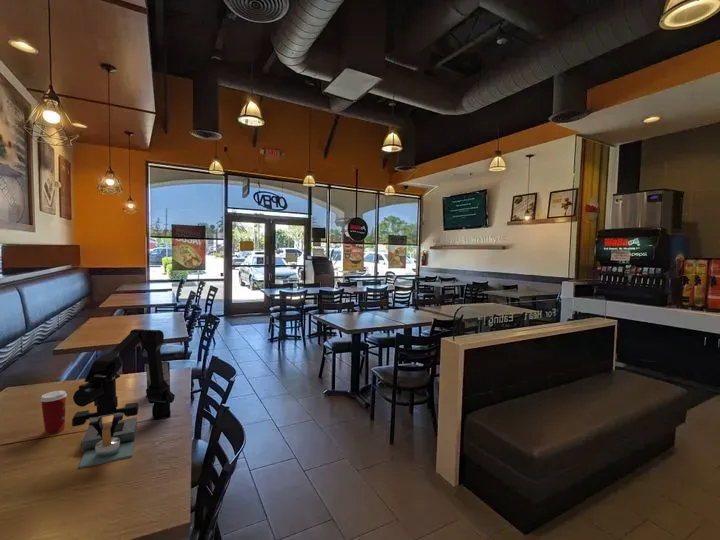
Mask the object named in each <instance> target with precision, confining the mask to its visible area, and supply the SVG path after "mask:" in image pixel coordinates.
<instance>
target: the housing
mask: <svg viewBox="0 0 720 540" xmlns="http://www.w3.org/2000/svg"><path fill="white" fill-rule="evenodd" d="M107 423H112V421H110V422H109V421H107V422H105V423H104V422H102V425H103V426H104V424H107ZM137 430H138V417H131V418H126V419H122V420H119V422H118V424H117V426H116V428H115V431H114V434H113V437H117V438H119V439H120V444H125V443H130V442H134V443H135V441H136V436H137ZM101 440H102V438H101V436H100V435H99V433H98V431H97V430H96V429H95V428H94V427H93V426H92V425H91V426H89V425H88V427H87V430H86V432H85V434H84V436H83V438H82V440H81V453H82V454H84V453H85V452H86V451H91V450H95V445H96V444H97V443H98V442H99V441H101Z"/></svg>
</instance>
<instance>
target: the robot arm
mask: <svg viewBox="0 0 720 540" xmlns="http://www.w3.org/2000/svg"><path fill="white" fill-rule="evenodd" d="M164 337H165V335H164V331H162V330H160V329H143V328H142V329H141V328H139V329H138V328H134V329H131V330H130V332H129V334H128V335H127V336H126V337H124V339H122V340H121V341H120V343H118V344H117V345H116V346H115V347H114V348H113V349H112V350H111V351H110V352H108V353H105V354H103V355H101V356H98V358H97V359H95V360H94V361H93V362H92V363H91V367H90V369H89V370H88V373H87V374H86V377H85V379H84V384H80V385H78V390H76V391H75V392H74V394H73V397H72V398H73V399H72V400H73V402H74V404H75V405H77V406H78V407H80V408H81V407H82V408H83V407H86V406H88V405H90V404H92V403H93V402H94V404H93V405H94V407H96V412H91V411H90V409H89V410H82V411H76V413H75V414H74V415H73V417H72V419H71V426H72V427H78V426H84V425H85V424H86V423H87V420H88V421H89V422H88V427H89V426H93V427H94V428H95V429H96V430H97V431H98V433H99V435H100V436H101V438H102V429H103V425H102V424H103V418H104V417H105V418H106V417H110V416H113V417H112V421H111V422H112V430H111V437H113V434H114V431H115V428H116V426H117V424H118V422H119V421H120V420H124V416H125V417H127V418H129V417H134V416H137V415H138V413H139V403H138V402H130V403H125V405H124V407H119V408H118V406H119V404H118V396H117V385H116V381H117V379H119V378H120V377H121V375H120V374H118V372H119V370H120V369H121V367H122V366H123V361H124V360H125V359H126V357H127V356H128V355H129V354H130V353H131V352H132V351H133V350H134V349H135V348H136V347H137V346H138V345H139V344H141V346H142V349H144V350H145V351H146V355H147V356H146V357H147V363H148V366H149V374H150V382H151V383H150V385H149V387H148V388H147V387H146V389H145V395H146V397H145V398H147V401H148V404H150V405H151V404H153V405H152V406H151V408H152V411H151V412H152V413H151V414H152V415H151V417H152V418H153V420H154V421H156V420H160V419H166V418H170V417H171V412H172V411H171V404H172V403H173V402H174V401H175V397H176V395H175V394H174V393H173V392H172V391H171V388H170V389H169V385H168V384H167V383H166V382H165V380H164V377H163V369H162V361H163V360H162V354H161V352H162V351H161V348H162V347H163V345H164V342H165V340H164V339H165V338H164ZM90 412H91V413H90Z"/></svg>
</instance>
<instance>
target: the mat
mask: <svg viewBox="0 0 720 540" xmlns="http://www.w3.org/2000/svg"><path fill="white" fill-rule="evenodd" d="M134 446H135V441H134V442H130V443H125V444H120V450H119V451H117V452H116V453H114V454H112V455H109V456H104V457H99V456H96V453H95V450H91V451H86V452H83V455H82V458H81V461H80V462H79V465H78V469H83V468H88V467H91V466H97V465H100V464H101V465H102V464H105V463H109V462H114V461H115V462H116V461H119V460H123V459H128V458H132V457H133V451H134Z"/></svg>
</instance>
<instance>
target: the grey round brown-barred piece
mask: <svg viewBox="0 0 720 540" xmlns="http://www.w3.org/2000/svg"><path fill="white" fill-rule="evenodd" d="M106 423H107V424H104V426H103V429H102V440H101V441H99V442H98V443H97V444H96V445H95V453H96V456H99V457H104V456H109V455H112V454H114V453H116V452H117V451H119V450H120V439H119V438H117V437H111V430H112V423H108V422H106Z"/></svg>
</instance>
